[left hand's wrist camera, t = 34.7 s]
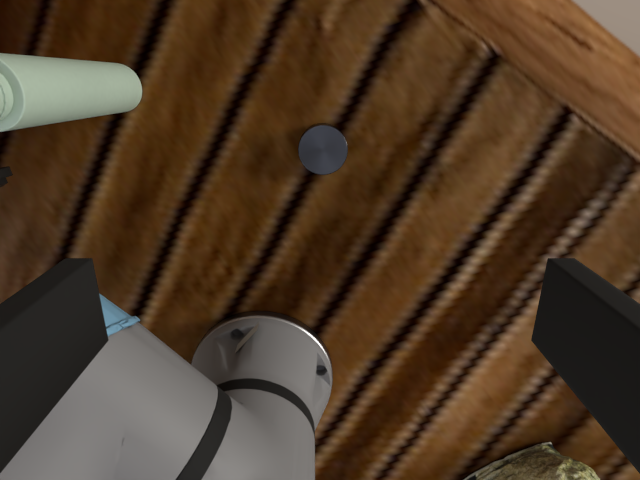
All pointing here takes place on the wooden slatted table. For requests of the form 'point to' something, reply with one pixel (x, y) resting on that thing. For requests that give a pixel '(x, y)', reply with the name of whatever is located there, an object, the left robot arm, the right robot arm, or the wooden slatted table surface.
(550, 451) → the fossil
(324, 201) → the wooden slatted table surface
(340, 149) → the lid
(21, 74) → the pale green cylinder
